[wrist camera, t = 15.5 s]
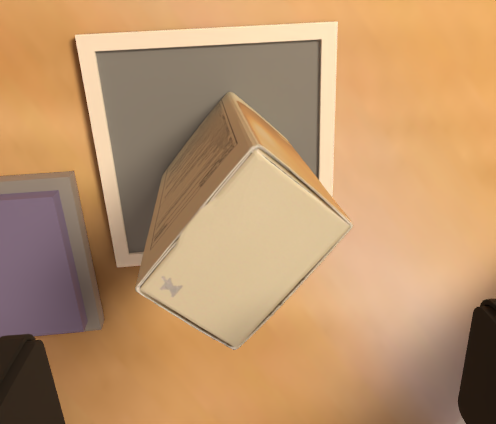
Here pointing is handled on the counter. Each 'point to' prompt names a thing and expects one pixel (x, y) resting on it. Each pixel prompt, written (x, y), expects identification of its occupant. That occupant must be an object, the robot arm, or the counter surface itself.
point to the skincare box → (236, 226)
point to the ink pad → (45, 258)
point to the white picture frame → (199, 104)
